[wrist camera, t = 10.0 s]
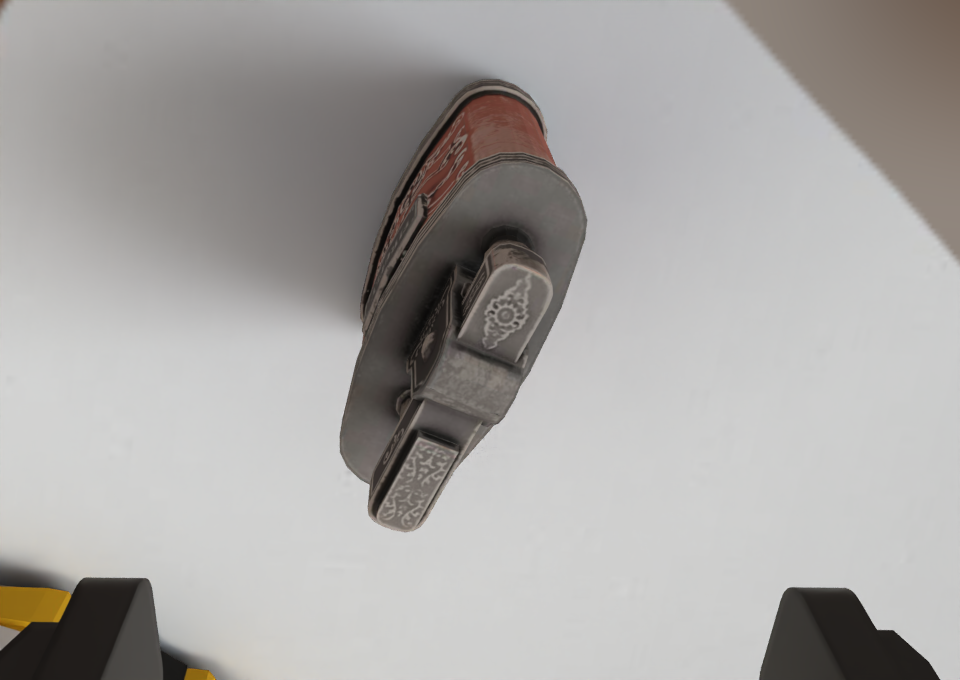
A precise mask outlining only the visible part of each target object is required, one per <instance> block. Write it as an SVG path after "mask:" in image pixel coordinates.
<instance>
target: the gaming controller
mask: <svg viewBox="0 0 960 680" xmlns="http://www.w3.org/2000/svg"><path fill="white" fill-rule="evenodd" d="M70 598H71V595H70V593H69V592H68V591H62V590H56V589H51V588H31V587H13V586H5V585H0V650H2V649H3V648H4V647H5V646H6V645H7V644H8V643H9V642H10V641H11V640H12V639H13V638H15V637H16V636H17V635H18V634H19V633H20V632H21V631H22V630H23V629H24V628H25V627H27V626H28V625H29V624H30V623H31V622H59V621H60V619H61V617H62V615H63V613H64V611H65V609H66V606H67V604H68V602H69V600H70ZM161 657H162V665H163V680H216V679H215V677H214V676H213V675H212V674H211V672H210V671H209V670H200V669H191V668H187V665H186V664H184V663H182V662H180V661H179V660H177V659H175V658H173V657H171V656H170V655H168V654H166V653H164V652H163V651H161Z"/></svg>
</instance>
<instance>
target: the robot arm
mask: <svg viewBox="0 0 960 680" xmlns="http://www.w3.org/2000/svg"><path fill="white" fill-rule="evenodd" d="M0 680H163V665H162V657H161V650H160V643H159V635H158V628H157V621H156V614H155V606H154V599H153V592H152V587H151V584H150V581H149V580H148V579H146V578H83V579H82V580H81V581H80V582H79V583H78V585H77V586H76V588H75V590H74V592H73V594H72V596H71V598H70V600H69V602H68V604H67V606H66V609H65V611H64V613H63V615H62V617H61V619H60V621H59V622H31V623H30V624H29V625H28V626H27V627H25V628H24V629H23V630H22V631H21V632H20V633H19V634H18V635H17V636H16V637H15V638H13V639H12V640H11V641H10V642H9V643H8V644H7V645H6V646H5V647H4V648H3V649H2V650H0ZM759 680H940V679H939V677H938V676H937V674H936V672H935V671H934V669H933V668H932V666H931V665H930V663H929V662H928V661H927V660H926V659H925V658H924V657H923V656H921V655H920V654H919V653H918V652H917V651H916V650H915V649H914V648H912V647H911V646H910V645H909V644H908V643H907V642H906V641H905V640H903V639H902V638H901V637H900V636H899V635H898V634H897V633H896V632H895V631H893V630H877V629H876V628H875V626H874V624H873V623H872V621H871V619H870V618H869V616H868V614H867V613H866V611H865V609H864V607H863V606H862V604H861V602H860V601H859V599H858V598H857V596H856V595H855V594H854V593H853V592H852V591H851V590H849V589H847V588H796V587H792V588H788V589H787V590H786V591H785V592H784V594H783V596H782V598H781V601H780V605H779V608H778V612H777V615H776V619H775V622H774V626H773V629H772V632H771V636H770V639H769V643H768V646H767V650H766V653H765V657H764V660H763V664H762V667H761V671H760V678H759Z"/></svg>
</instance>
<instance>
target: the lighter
mask: <svg viewBox="0 0 960 680" xmlns="http://www.w3.org/2000/svg"><path fill="white" fill-rule="evenodd" d="M546 141H547V129H546V125H545V122H544V118H543V115H542V113H541V111H540V109H539V107H538V106H537V105H536V103H535V102H534V100H533V99H532V98H531V96H530V95H529V94H527V93H526V92H525V91H523V90H522V89H520V88H519V87H518V86H516V85H514V84H511V83H508V82H505V81H501V80H480V81H477V82H475V83H472V84H469V85H467V86H465V87H464V88H463V89H462V90H461V91H460V92H459V93H458V94H456V95H455V97H454V98H453V99H452V101H451V102H450V103H449V105H448V106H447V108H446V109H445V110H444V112H443V113H442V114H441V116H440V117H439V119H438V120H437V121H436V123H435V124H434V125H433V127H432V128H431V130H430V131H429V132H428V134H427V135H426V136H425V138H424V139H423V141H422V142H421V144H420V145H419V147H418V149H417V151H416V153H415V154H414V156H413V158H412V160H411V162H410V163H409V165H408V167H407V169H406V170H405V172H404V174H403V176H402V178H401V179H400V181H399V183H398V185H397V187H396V188H395V190H394V192H393V194H392V197H391V200H390V202H389V205H388V208H387V210H386V213H385V216H384V218H383V221H382V224H381V226H380V229H379V232H378V234H377V237H376V240H375V242H374V245H373V250H372V254H371V258H370V262H369V267H368V271H367V275H366V279H365V284H364V288H363V292H362V299H361V305H360V318H361V320H362V322H363V328H362V332H363V334H364V335H363V342H362V347H361V350H360V353H359V355H358V358H357V361H356V365H355V369H354V373H353V377H352V381H351V386H350V390H349V394H348V398H347V402H346V406H345V411H344V415H343V419H342V426H341V432H340V453H341V455H342V457H343V459H344V461H345V464H346V466H347V467H348V468H349V469H350V470H351V471H352V472H353V473H354V474H355V475H356V476H357V477H358V478H359V479H360V480H362V481H364V482H366V483H368V484H370V490H369V500H368V513H369V516H370V518H371V519H372V520H373V521H374V522H376V523H378V524H380V525H382V526H384V527H387V528H390V529H392V530H396V531H401V532H410V531H414V530H416V529H417V528H419V527H421V525H422V524H423V523H424V522H425V520H426V519H427V517H428V516H429V514H430V512H431V510H432V509H433V507H434V505H435V503H436V502H437V500H438V498H439V496H440V495H441V493H442V491H443V489H444V488H445V486H446V484H447V483H448V481H449V479H450V477H451V476H452V474H453V472H454V470H455V469H456V468H457V467H458V466H459V465H460V464H461V462H462V461H463V460H464V459H465V458H466V457H467V456H468V455H469V453H470V452H471V451H472V450H473V449H474V448H475V447H476V445H477V444H478V443H479V442H480V441H481V440H482V439H483V438H484V436H485V435H486V434H487V433H488V432H489V431H490V430H491V428H492V427H493V425H496V424H498V423H499V422H500V421H501V420H502V419H503V418H504V417H505V415H506V413H507V412H508V410H509V408H510V406H511V405H512V403H513V401H514V400H515V398H516V395H517V393H518V390H519V388H520V386H521V384H522V383H523V381H524V380H525V379H526V377H527V376H528V374H529V373H530V371H531V369H532V367H533V364H534V362H535V360H536V358H537V356H538V354H539V352H540V350H541V348H542V346H543V344H544V342H545V340H546V338H547V336H548V334H549V332H550V330H551V328H552V326H553V324H554V322H555V320H556V318H557V316H558V313H559V311H560V309H561V307H562V304H563V301H564V298H565V295H566V293H567V290H568V287H569V284H570V281H571V278H572V275H573V272H574V269H575V266H576V264H577V261H578V258H579V255H580V252H581V249H582V246H583V243H584V240H585V235H586V226H587V218H586V214H585V211H584V207H583V204H582V200H581V198H580V196H579V194H578V192H577V189H576V188H575V186H574V185H573V184H572V182H571V181H570V180H569V178H568V177H567V176H566V174H565V173H564V171H562V170H561V169H559V168H558V167H557V166H556V164H555V162H554V160H553V157H552V155H551V153H550V150H549V148H548V146H547V143H546Z"/></svg>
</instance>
